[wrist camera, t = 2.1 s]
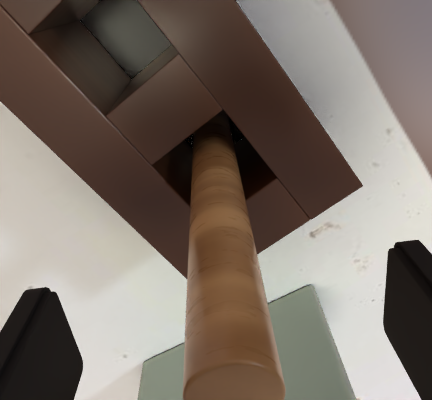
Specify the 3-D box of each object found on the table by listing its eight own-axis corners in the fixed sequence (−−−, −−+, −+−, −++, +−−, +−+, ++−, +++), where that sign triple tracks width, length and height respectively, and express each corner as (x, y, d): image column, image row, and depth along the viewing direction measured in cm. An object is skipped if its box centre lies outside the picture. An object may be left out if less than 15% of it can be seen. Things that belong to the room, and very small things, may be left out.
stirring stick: (191, 107, 26) (173, 369, 8) (226, 102, 26) (283, 356, 8) (196, 140, 27) (191, 437, 9) (230, 136, 27) (289, 425, 9)
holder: (136, -130, 20) (103, -191, 13) (320, 133, 27) (363, 185, 20) (2, 10, 23) (-85, 21, 16) (199, 219, 30) (199, 292, 23)
